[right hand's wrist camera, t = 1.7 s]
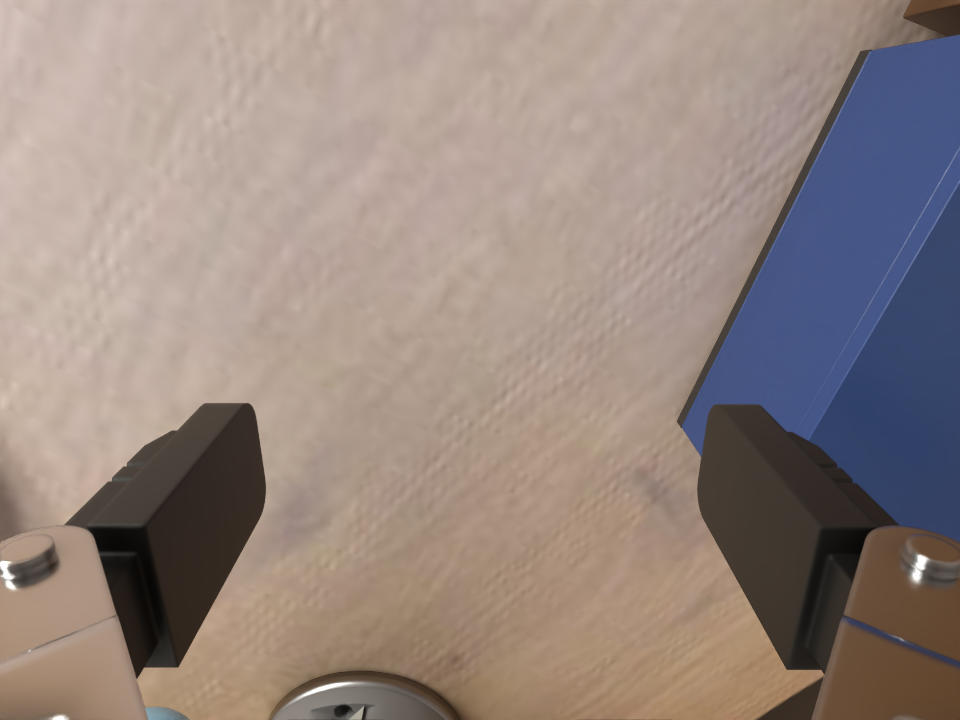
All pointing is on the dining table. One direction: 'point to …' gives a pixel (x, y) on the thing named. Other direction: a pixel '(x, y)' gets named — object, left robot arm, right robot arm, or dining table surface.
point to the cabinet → (864, 293)
